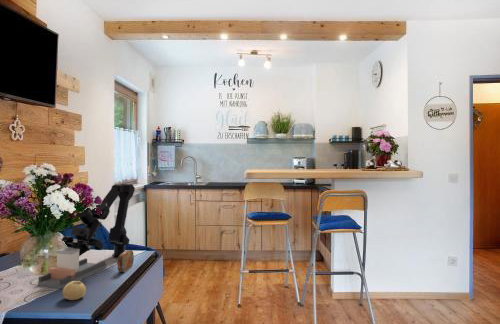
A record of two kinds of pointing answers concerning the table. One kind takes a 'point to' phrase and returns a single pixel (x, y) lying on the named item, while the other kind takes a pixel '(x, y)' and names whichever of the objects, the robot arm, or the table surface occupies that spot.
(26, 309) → the table surface
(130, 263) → the tin
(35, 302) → the table surface
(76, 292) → the onion
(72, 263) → the pale grey box
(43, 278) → the cable rail
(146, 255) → the table surface
